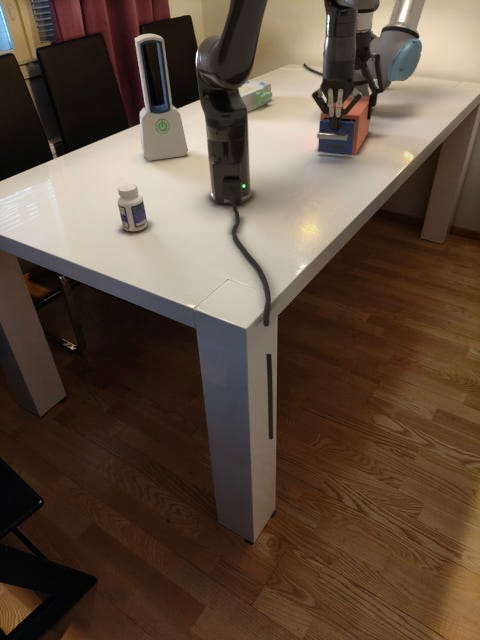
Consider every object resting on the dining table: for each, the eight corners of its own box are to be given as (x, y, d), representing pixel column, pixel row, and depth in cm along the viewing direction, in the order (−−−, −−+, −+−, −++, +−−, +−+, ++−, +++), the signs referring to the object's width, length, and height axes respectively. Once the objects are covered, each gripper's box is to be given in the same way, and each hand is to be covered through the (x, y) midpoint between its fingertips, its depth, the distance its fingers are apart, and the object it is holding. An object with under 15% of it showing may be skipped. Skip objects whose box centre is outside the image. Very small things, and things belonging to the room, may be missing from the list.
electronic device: (145, 161, 137) (124, 39, 118) (142, 153, 142) (122, 35, 124) (188, 155, 139) (175, 34, 121) (184, 147, 145) (170, 31, 126)
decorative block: (236, 77, 186) (280, 82, 177) (237, 95, 190) (280, 101, 181) (193, 93, 170) (239, 99, 161) (195, 112, 174) (240, 119, 165)
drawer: (347, 161, 127) (350, 129, 122) (312, 158, 130) (314, 127, 125) (363, 133, 144) (366, 104, 139) (332, 131, 147) (334, 103, 142)
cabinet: (355, 154, 134) (359, 115, 128) (318, 151, 137) (320, 113, 131) (368, 132, 148) (372, 96, 141) (334, 130, 151) (336, 95, 145)
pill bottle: (149, 220, 107) (142, 181, 102) (146, 231, 103) (138, 191, 98) (125, 221, 107) (116, 182, 102) (121, 232, 103) (112, 193, 98)
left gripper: (370, 53, 116) (363, 128, 127) (316, 53, 121) (313, 125, 131) (364, 60, 111) (357, 137, 122) (308, 59, 115) (306, 133, 126)
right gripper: (403, 28, 129) (391, 115, 142) (318, 28, 136) (314, 111, 150) (400, 33, 123) (388, 123, 137) (311, 33, 131) (308, 118, 144)
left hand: (334, 130), depth 127 cm, fingers closed
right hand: (349, 117), depth 143 cm, fingers closed on cabinet, 10 cm apart
